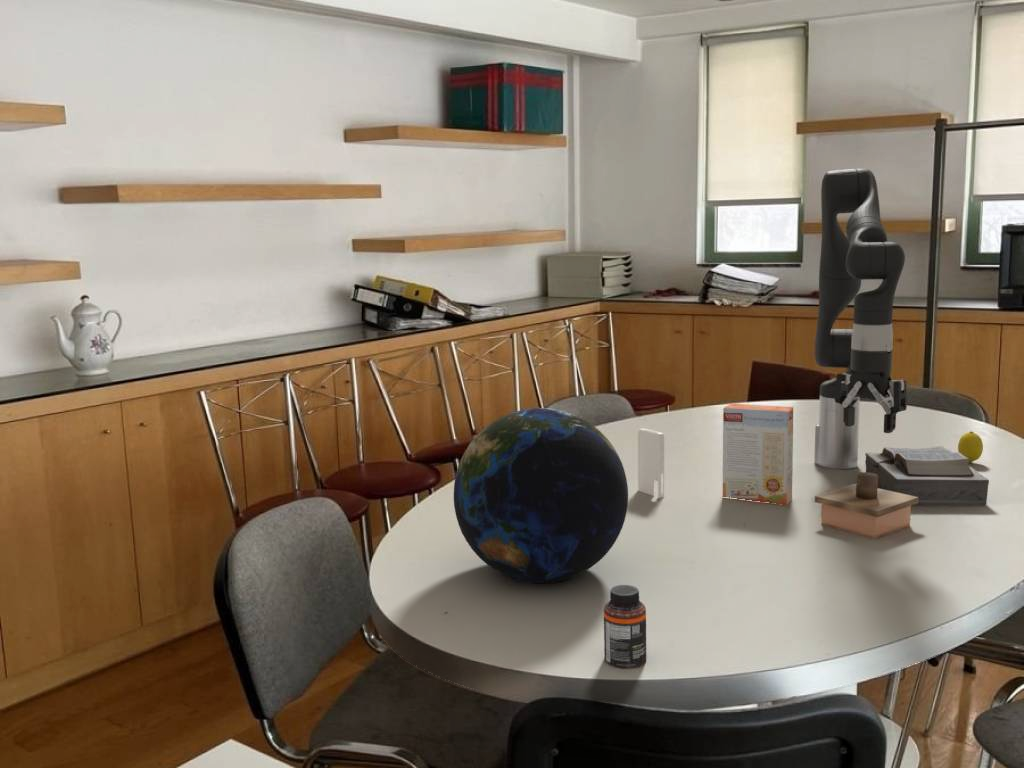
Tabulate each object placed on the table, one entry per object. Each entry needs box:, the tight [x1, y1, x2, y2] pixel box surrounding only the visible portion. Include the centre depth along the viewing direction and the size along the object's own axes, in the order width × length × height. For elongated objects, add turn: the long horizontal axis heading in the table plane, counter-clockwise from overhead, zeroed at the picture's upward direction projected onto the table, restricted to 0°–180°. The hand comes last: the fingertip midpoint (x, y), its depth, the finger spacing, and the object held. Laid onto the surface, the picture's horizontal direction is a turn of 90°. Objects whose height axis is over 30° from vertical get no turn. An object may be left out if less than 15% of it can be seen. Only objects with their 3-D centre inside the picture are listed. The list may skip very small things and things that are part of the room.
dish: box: [821, 504, 912, 540], centre depth 208 cm, size 12×12×5 cm
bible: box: [865, 445, 990, 507], centre depth 231 cm, size 23×27×10 cm
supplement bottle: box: [603, 584, 647, 670], centre depth 148 cm, size 6×6×11 cm
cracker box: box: [722, 403, 794, 506], centre depth 226 cm, size 14×6×21 cm, turn 64°
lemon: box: [957, 430, 984, 464], centre depth 255 cm, size 6×6×8 cm
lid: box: [814, 471, 919, 517], centre depth 207 cm, size 14×14×6 cm
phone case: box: [637, 428, 665, 499], centre depth 231 cm, size 7×1×15 cm, turn 33°
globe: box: [453, 407, 629, 584], centre depth 182 cm, size 30×30×30 cm
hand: (868, 429), depth 205 cm, fingers open, 8 cm apart
